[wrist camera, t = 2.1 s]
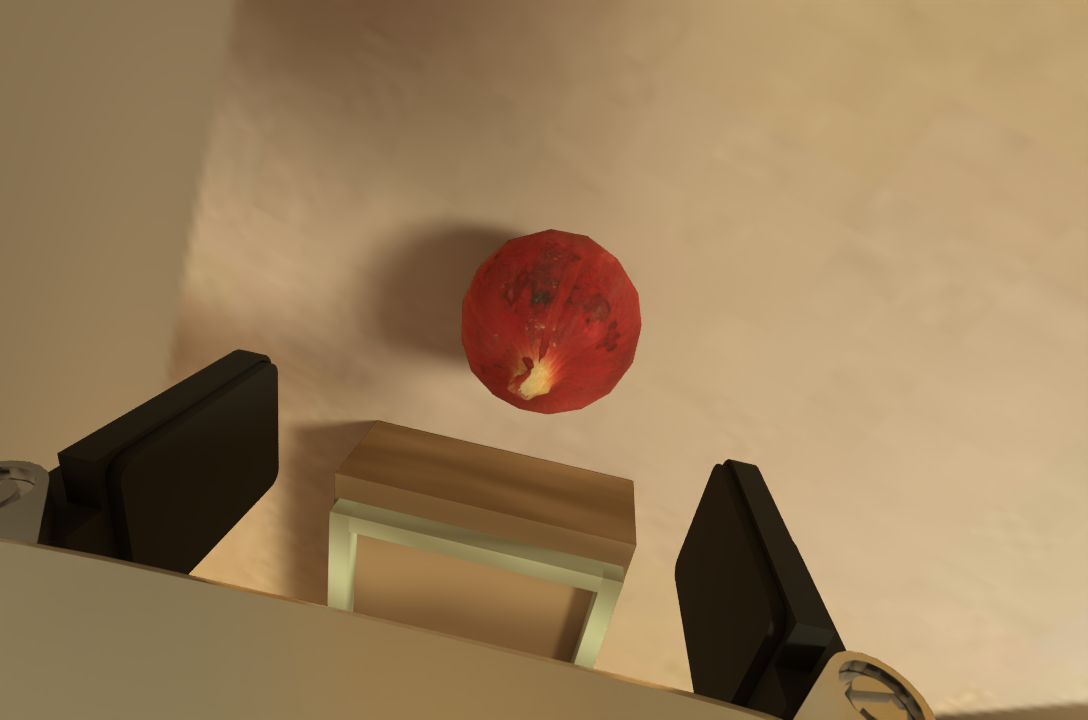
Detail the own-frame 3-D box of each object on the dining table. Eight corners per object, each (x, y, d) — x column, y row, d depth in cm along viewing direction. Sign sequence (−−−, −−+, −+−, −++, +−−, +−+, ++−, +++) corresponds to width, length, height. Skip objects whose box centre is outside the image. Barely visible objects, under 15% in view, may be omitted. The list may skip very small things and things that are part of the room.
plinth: (377, 420, 24) (324, 486, 20) (633, 481, 24) (637, 561, 19) (363, 625, 30) (321, 709, 26) (568, 676, 30) (560, 770, 25)
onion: (496, 202, 19) (426, 250, 12) (651, 227, 19) (673, 292, 12) (482, 344, 22) (417, 454, 15) (619, 369, 22) (621, 494, 14)
